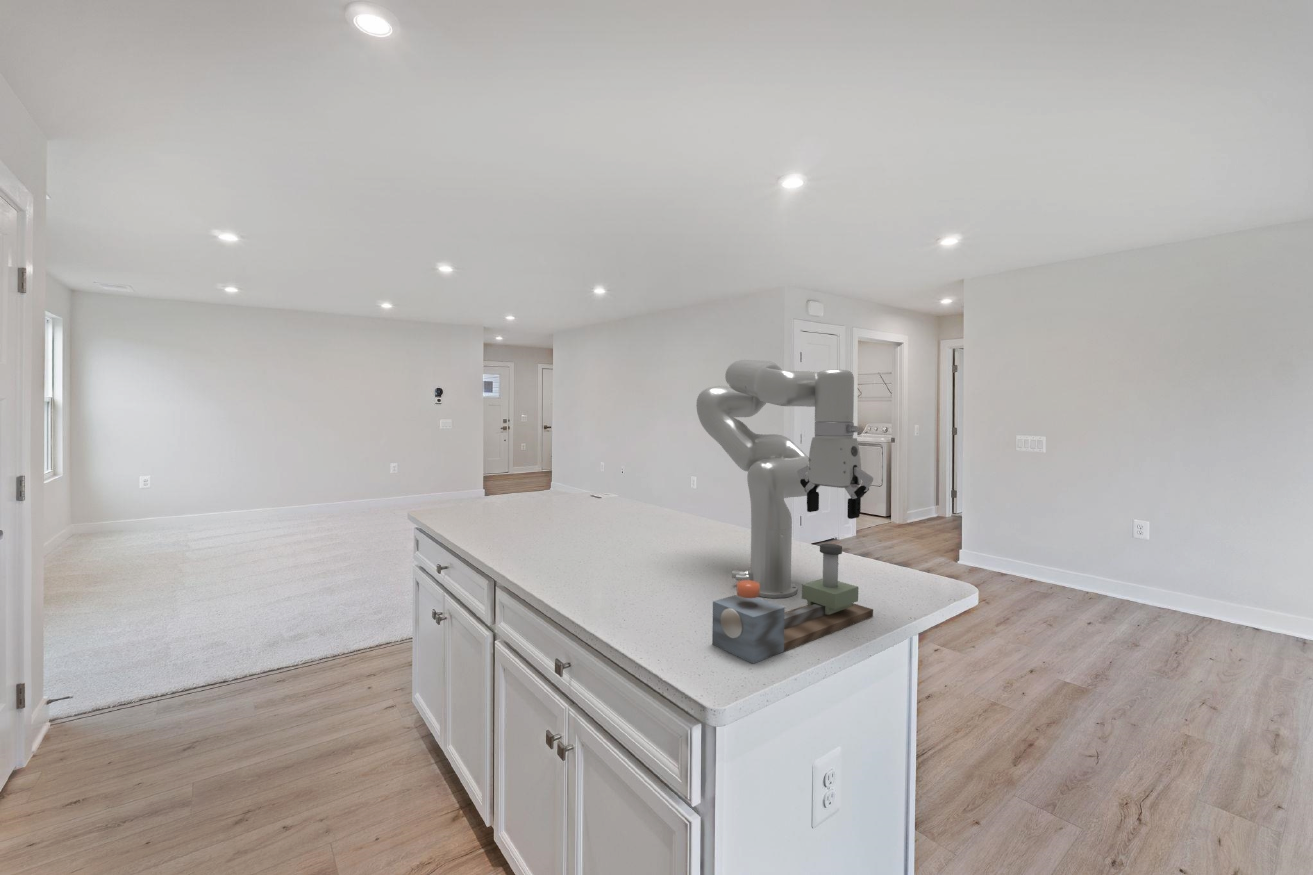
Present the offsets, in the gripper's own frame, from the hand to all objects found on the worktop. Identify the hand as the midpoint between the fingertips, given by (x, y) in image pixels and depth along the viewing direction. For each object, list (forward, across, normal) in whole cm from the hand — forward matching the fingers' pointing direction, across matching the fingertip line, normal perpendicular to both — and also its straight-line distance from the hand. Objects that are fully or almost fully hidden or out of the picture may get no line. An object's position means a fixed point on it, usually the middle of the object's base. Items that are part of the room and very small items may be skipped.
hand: (832, 514), depth 116 cm
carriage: (+19, 0, 0) cm, 19 cm away
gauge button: (+12, 0, +24) cm, 27 cm away
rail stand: (+22, 0, +10) cm, 24 cm away
